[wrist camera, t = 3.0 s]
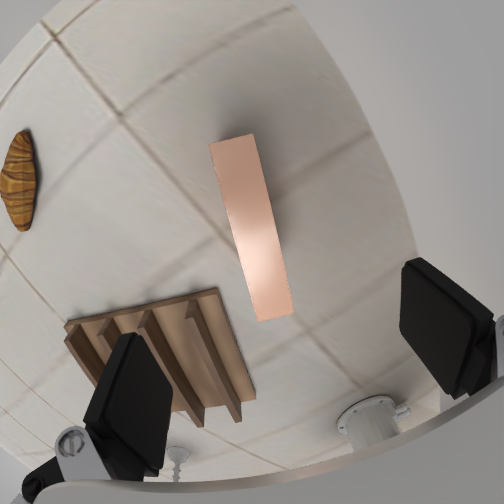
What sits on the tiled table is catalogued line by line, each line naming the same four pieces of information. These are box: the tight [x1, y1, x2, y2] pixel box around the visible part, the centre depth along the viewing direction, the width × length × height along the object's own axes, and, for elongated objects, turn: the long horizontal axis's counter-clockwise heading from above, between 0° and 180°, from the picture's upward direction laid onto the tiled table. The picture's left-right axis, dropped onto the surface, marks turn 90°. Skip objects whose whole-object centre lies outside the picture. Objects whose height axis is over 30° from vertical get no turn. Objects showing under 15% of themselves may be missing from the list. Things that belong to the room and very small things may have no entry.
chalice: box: [167, 447, 190, 482], centre depth 40 cm, size 7×7×18 cm
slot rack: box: [64, 288, 256, 430], centre depth 36 cm, size 24×20×6 cm
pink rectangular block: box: [209, 134, 294, 322], centre depth 26 cm, size 3×14×12 cm, turn 14°
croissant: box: [0, 130, 36, 232], centre depth 25 cm, size 14×7×5 cm, turn 173°
